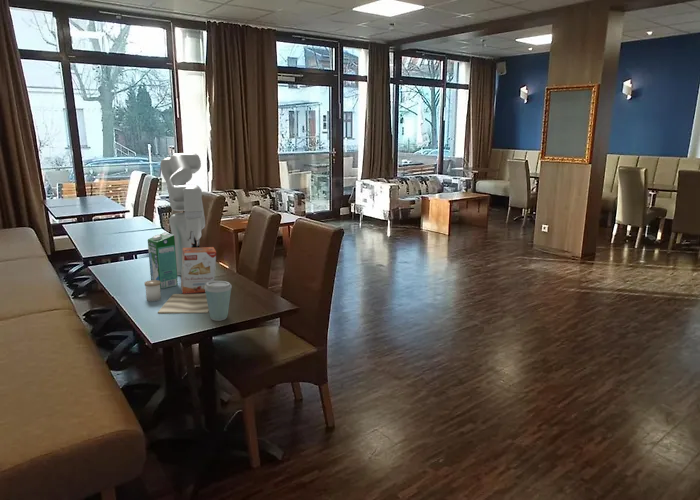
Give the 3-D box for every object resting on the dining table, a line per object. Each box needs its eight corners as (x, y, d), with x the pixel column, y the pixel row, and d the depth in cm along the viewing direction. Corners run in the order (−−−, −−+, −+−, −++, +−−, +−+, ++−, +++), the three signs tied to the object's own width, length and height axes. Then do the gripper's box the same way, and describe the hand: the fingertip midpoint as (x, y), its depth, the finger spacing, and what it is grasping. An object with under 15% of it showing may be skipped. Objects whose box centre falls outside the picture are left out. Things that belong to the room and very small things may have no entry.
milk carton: (151, 285, 237) (146, 234, 231) (168, 281, 243) (165, 231, 237) (160, 289, 231) (156, 237, 225) (178, 285, 237) (174, 234, 231)
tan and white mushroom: (148, 296, 221) (147, 280, 219) (163, 296, 221) (162, 280, 219) (143, 301, 214) (142, 284, 212) (159, 301, 215) (157, 284, 213)
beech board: (173, 295, 223) (173, 293, 223) (217, 294, 225) (217, 293, 224) (157, 313, 201) (157, 312, 201) (207, 312, 202) (207, 311, 202)
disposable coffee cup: (215, 312, 203) (213, 277, 200) (238, 315, 200) (236, 280, 197) (200, 321, 194) (198, 284, 190) (224, 324, 191) (222, 287, 187)
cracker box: (182, 294, 222) (184, 252, 214) (180, 288, 227) (181, 247, 219) (214, 292, 228) (216, 251, 220) (211, 286, 233) (213, 246, 225)
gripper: (188, 212, 227) (191, 250, 231) (180, 217, 213) (183, 258, 217) (205, 212, 228) (207, 250, 232) (198, 217, 213) (200, 258, 218)
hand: (195, 254), depth 224 cm, fingers closed
